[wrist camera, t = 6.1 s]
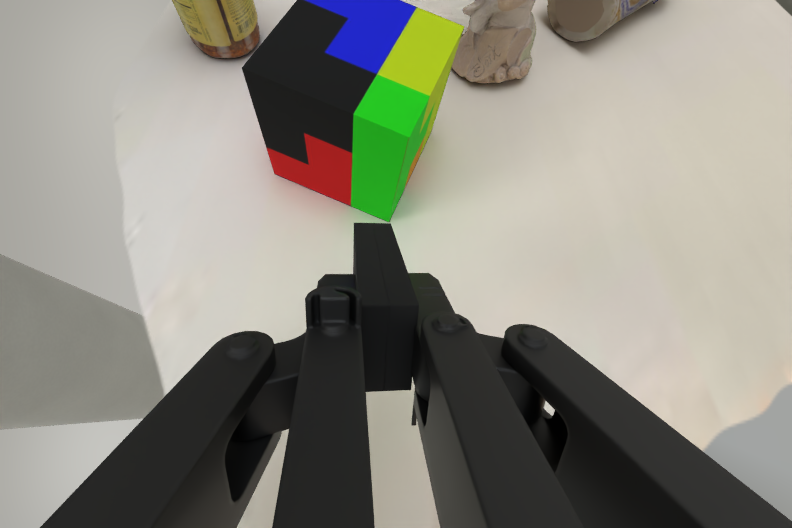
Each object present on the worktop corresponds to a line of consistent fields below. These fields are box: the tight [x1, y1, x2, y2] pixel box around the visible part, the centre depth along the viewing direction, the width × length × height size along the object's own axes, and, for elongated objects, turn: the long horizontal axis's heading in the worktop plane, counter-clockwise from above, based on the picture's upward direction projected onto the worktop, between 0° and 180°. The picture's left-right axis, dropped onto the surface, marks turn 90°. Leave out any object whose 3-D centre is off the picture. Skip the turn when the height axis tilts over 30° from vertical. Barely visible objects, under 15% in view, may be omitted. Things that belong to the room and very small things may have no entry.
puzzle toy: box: [242, 0, 464, 222], centre depth 26 cm, size 10×10×10 cm
